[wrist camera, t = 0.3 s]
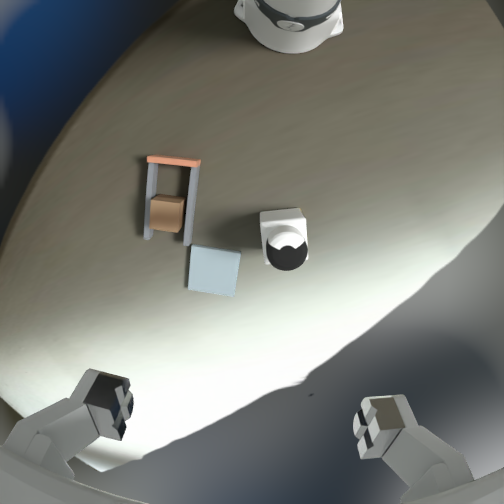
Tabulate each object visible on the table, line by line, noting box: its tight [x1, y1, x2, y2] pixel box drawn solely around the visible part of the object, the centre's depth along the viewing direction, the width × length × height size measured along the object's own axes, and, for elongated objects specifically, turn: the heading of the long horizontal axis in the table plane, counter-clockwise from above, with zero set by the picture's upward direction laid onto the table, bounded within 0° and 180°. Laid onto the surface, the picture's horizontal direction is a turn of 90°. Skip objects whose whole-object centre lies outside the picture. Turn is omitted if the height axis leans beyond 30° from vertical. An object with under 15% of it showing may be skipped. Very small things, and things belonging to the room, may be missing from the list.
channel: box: [144, 155, 201, 246], centre depth 52 cm, size 15×8×4 cm, turn 171°
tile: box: [188, 244, 241, 297], centre depth 58 cm, size 9×9×1 cm
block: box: [149, 194, 186, 233], centre depth 52 cm, size 5×5×5 cm
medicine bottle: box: [260, 208, 308, 271], centre depth 50 cm, size 7×7×12 cm
